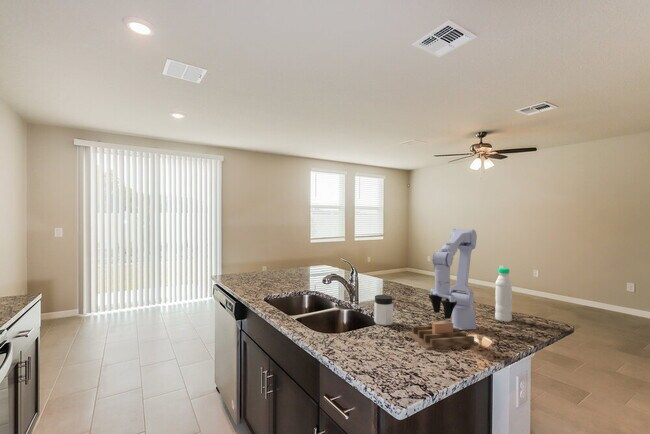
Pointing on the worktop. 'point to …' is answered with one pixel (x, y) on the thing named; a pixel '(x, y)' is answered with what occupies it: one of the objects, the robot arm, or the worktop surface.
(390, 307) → the jar
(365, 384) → the worktop surface
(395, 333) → the worktop surface
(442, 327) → the tile
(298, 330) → the worktop surface
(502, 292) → the water bottle
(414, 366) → the worktop surface
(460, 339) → the rack
